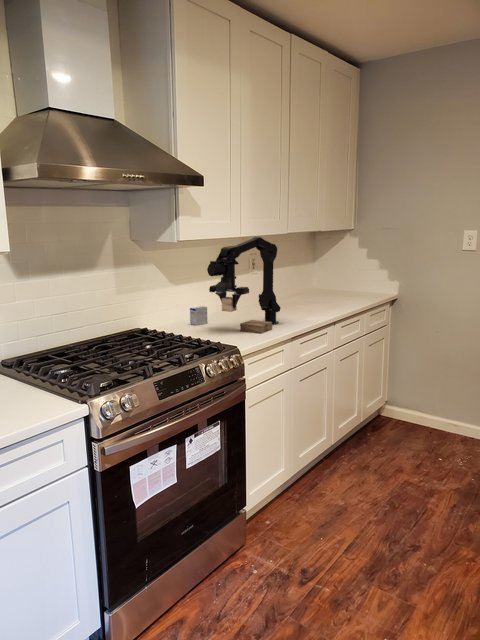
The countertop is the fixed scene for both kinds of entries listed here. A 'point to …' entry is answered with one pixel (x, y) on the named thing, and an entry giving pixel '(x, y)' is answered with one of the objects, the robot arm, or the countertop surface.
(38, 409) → the countertop surface
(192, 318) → the box
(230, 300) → the maple block
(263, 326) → the walnut block
